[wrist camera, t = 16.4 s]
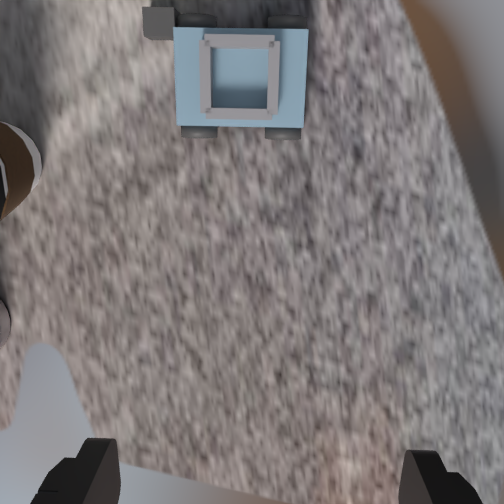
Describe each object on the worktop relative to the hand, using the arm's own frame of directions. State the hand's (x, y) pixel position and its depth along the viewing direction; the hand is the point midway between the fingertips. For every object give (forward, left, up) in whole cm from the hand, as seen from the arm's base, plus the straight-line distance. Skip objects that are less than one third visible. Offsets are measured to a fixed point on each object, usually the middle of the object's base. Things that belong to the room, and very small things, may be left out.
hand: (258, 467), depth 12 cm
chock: (-8, +15, -30) cm, 35 cm away
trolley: (-2, +11, -30) cm, 32 cm away
